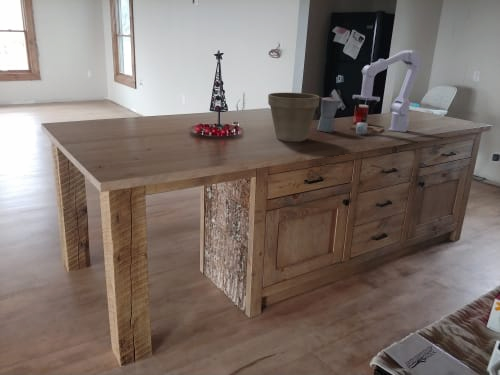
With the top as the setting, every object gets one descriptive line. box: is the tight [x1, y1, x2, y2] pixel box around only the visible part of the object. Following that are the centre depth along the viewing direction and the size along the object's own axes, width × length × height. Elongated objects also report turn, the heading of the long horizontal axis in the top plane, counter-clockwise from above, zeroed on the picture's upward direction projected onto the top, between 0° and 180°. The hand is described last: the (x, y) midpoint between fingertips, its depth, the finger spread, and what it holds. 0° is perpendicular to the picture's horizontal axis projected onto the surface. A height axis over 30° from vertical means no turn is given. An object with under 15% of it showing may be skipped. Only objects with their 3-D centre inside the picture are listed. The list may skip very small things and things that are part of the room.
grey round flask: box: [355, 122, 369, 135], centre depth 243 cm, size 9×6×6 cm, turn 152°
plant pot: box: [267, 92, 320, 143], centre depth 221 cm, size 25×25×22 cm
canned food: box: [353, 104, 369, 125], centre depth 272 cm, size 8×8×11 cm
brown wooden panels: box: [350, 124, 384, 134], centre depth 256 cm, size 16×11×1 cm
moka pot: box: [315, 94, 343, 133], centre depth 244 cm, size 10×15×20 cm, turn 78°
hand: (364, 113), depth 249 cm, fingers open, 7 cm apart
